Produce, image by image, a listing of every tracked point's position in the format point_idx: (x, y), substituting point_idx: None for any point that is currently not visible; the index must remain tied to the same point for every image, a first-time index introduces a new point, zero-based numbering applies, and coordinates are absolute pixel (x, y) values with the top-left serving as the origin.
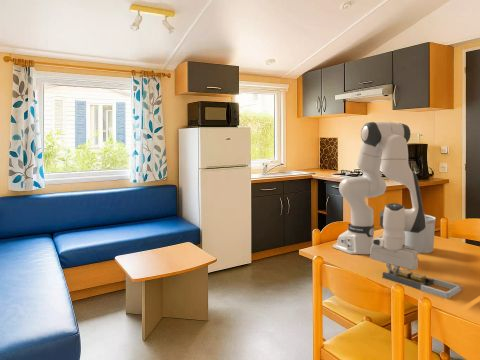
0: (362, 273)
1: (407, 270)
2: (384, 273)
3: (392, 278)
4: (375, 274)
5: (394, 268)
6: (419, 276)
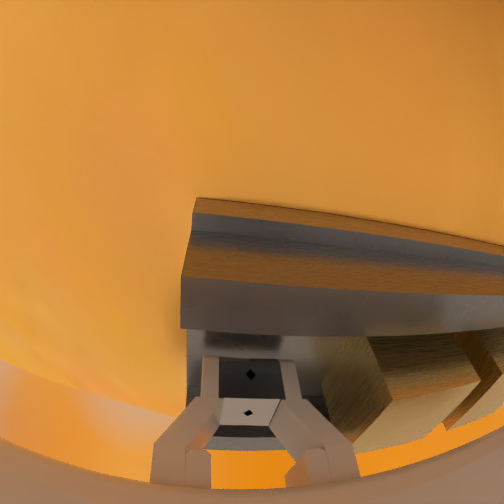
0: (19, 359)
1: (438, 393)
2: (206, 447)
3: None
4: (68, 333)
5: (198, 303)
6: (497, 404)
